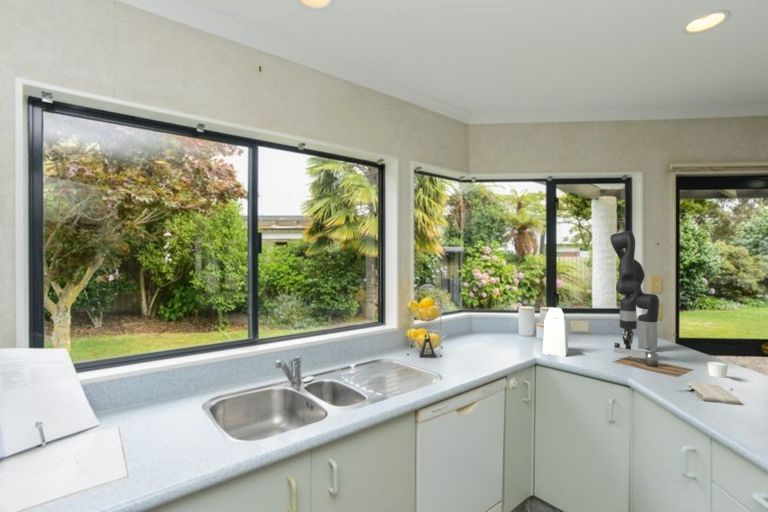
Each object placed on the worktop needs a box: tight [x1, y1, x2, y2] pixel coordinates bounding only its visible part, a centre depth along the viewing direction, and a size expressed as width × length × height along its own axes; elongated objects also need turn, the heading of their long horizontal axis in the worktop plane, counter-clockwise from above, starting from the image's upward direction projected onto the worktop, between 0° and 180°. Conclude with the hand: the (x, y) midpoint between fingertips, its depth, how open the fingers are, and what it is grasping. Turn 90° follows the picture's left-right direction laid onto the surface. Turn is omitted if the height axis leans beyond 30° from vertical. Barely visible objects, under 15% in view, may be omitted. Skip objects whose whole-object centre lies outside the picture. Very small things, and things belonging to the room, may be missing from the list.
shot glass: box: [706, 361, 728, 379], centre depth 168 cm, size 7×7×7 cm
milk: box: [542, 307, 569, 357], centre depth 212 cm, size 12×12×26 cm
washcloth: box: [686, 381, 741, 406], centre depth 149 cm, size 12×18×3 cm, turn 160°
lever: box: [613, 342, 659, 367], centre depth 188 cm, size 19×5×8 cm, turn 41°
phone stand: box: [418, 333, 437, 359], centre depth 207 cm, size 9×6×12 cm, turn 86°
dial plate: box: [612, 355, 695, 378], centre depth 183 cm, size 20×28×2 cm
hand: (628, 351), depth 193 cm, fingers closed
